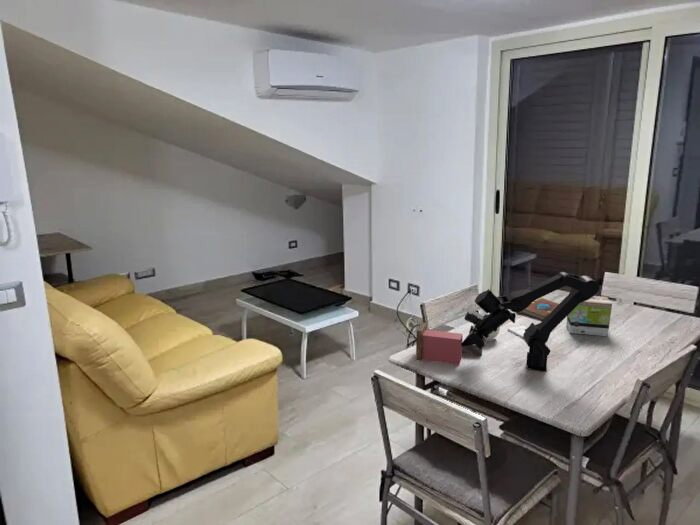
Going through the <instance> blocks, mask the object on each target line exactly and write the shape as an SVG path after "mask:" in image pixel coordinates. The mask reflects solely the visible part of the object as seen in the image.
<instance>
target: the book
mask: <svg viewBox="0 0 700 525" xmlns="http://www.w3.org/2000/svg"><path fill="white" fill-rule="evenodd" d="M559 304H560V303H558V302H554V301H551V300H550V299H547V298H545V297H541V298H539V299H537V300H535V301H533V302H532V303H531V304H530V305H529V307H527V308H526V309H524V310H523V311H521V312H519V313H520V314H523V315H526V316H529V317H531V318H534V319H537V320H540V321H543V320H544V319H545V318H546V317H547V316H548V315H549V314H550V313H551V312H552V311H553V310H554V309H555V308H556V307H557V306H558V305H559Z"/></svg>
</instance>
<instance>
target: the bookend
mask: <svg viewBox="0 0 700 525" xmlns="http://www.w3.org/2000/svg"><path fill="white" fill-rule="evenodd" d="M427 326H428V323H427V322H420V323H419V326H418V327H417V329H416V345H415V349H416V350H415V361H418V362H422V361H423V360H422V335H423V334H424V332H425V330H428V329H427ZM462 355H469V356H470V355H473V356H479V357H480V356H482V357H483V348H481V349H479V348H478V347H477V346H476V345H475V344H474V345H469V346H464V347H463V346H462Z"/></svg>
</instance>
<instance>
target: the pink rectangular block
mask: <svg viewBox="0 0 700 525" xmlns="http://www.w3.org/2000/svg"><path fill="white" fill-rule="evenodd" d="M462 342H463V333H458V332H449V331H441V330H432V329H427V330H425V332H424V334H423V335H422V361H429V362H437V363H443V364H444V363H445V364H451V365H458V366H459V365H460V364H461V361H462V359H463V358H462V357H463V356H462V355H463V354H462V345H461V343H462Z"/></svg>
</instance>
